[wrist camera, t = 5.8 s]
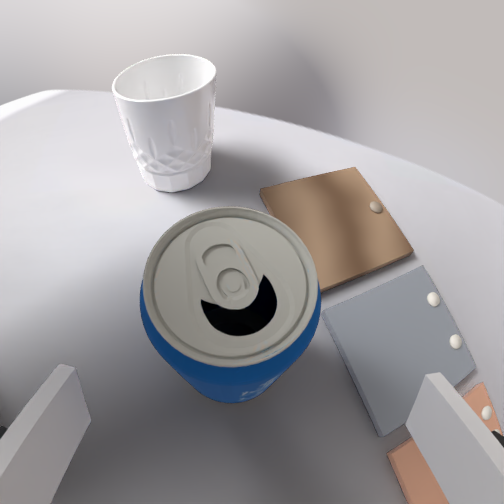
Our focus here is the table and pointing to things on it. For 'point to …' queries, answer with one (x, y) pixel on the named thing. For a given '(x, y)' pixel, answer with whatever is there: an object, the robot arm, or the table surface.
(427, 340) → the two-dot tile
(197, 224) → the beverage can
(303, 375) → the table surface
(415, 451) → the three-dot tile
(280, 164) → the table surface
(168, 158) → the white cup
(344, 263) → the one-dot tile
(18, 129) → the table surface
